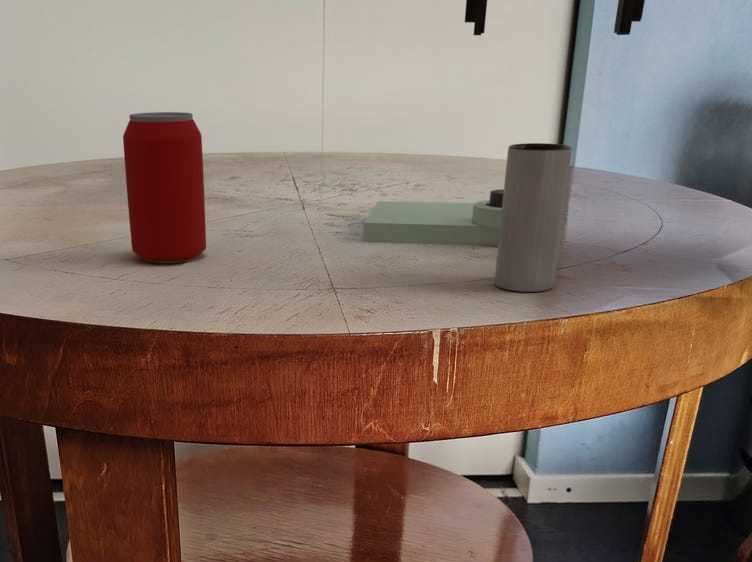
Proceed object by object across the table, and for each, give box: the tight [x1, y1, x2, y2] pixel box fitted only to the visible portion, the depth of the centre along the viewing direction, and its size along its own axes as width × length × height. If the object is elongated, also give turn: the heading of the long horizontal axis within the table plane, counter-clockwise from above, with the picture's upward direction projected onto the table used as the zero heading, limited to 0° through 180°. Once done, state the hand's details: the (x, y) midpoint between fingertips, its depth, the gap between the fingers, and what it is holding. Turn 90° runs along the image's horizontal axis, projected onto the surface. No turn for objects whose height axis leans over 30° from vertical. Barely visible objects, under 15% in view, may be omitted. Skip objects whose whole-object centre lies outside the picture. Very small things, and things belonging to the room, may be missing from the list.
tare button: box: [489, 188, 504, 208], centre depth 84 cm, size 3×3×2 cm
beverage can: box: [122, 111, 207, 264], centre depth 79 cm, size 7×7×12 cm
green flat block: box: [362, 199, 502, 247], centre depth 90 cm, size 16×14×4 cm
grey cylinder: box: [494, 142, 573, 293], centre depth 69 cm, size 4×4×10 cm
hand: (549, 34), depth 63 cm, fingers open, 9 cm apart
